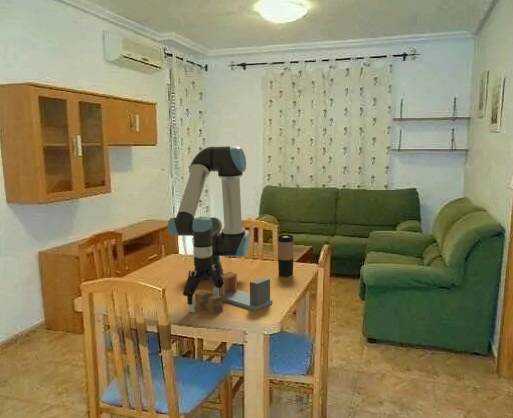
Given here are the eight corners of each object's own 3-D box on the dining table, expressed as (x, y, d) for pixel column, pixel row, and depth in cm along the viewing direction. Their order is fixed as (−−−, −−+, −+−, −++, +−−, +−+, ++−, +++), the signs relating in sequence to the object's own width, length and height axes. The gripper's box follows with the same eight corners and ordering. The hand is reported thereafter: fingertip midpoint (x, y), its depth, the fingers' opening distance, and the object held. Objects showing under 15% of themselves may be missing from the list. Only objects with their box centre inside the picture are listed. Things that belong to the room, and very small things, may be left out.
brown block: (195, 307, 183) (194, 293, 182) (202, 304, 186) (202, 290, 185) (215, 314, 175) (214, 299, 174) (222, 311, 178) (222, 296, 177)
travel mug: (277, 273, 229) (277, 234, 226) (292, 272, 229) (292, 234, 226) (279, 277, 221) (279, 237, 218) (294, 276, 222) (294, 237, 219)
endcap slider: (216, 293, 193) (215, 276, 192) (230, 288, 200) (229, 272, 199) (223, 295, 191) (222, 278, 190) (237, 290, 197) (236, 273, 196)
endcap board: (211, 297, 194) (210, 273, 192) (229, 290, 202) (228, 267, 200) (255, 310, 178) (254, 284, 176) (272, 303, 186) (272, 278, 184)
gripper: (185, 263, 167) (187, 318, 170) (231, 251, 186) (232, 300, 189) (172, 260, 172) (174, 313, 175) (218, 249, 191) (219, 297, 194)
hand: (204, 307), depth 182 cm, fingers open, 13 cm apart
